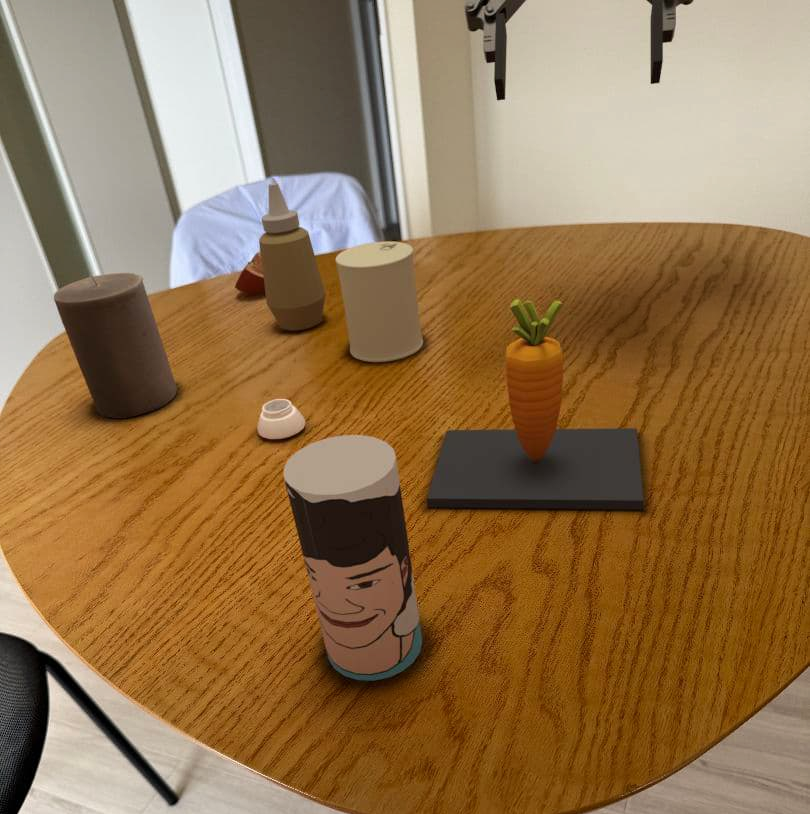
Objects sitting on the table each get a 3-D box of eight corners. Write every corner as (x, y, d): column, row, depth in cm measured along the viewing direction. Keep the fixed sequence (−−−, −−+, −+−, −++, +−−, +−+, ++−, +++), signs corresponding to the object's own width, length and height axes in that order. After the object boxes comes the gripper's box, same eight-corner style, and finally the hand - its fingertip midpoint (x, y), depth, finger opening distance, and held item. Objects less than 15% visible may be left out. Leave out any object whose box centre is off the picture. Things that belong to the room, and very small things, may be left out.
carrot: (570, 450, 71) (572, 287, 62) (554, 479, 67) (554, 310, 59) (518, 444, 73) (512, 285, 64) (500, 471, 69) (492, 307, 60)
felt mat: (636, 437, 73) (637, 427, 73) (643, 510, 64) (643, 500, 63) (447, 438, 77) (446, 429, 77) (427, 507, 68) (426, 498, 67)
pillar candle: (109, 427, 88) (59, 297, 79) (87, 400, 95) (38, 277, 86) (190, 398, 92) (150, 271, 83) (162, 374, 99) (123, 254, 90)
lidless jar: (256, 425, 84) (262, 446, 80) (250, 401, 83) (255, 421, 79) (301, 415, 85) (309, 435, 81) (296, 390, 83) (304, 410, 79)
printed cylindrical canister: (310, 643, 56) (263, 464, 47) (386, 600, 59) (355, 423, 50) (361, 696, 51) (320, 509, 42) (441, 647, 54) (418, 461, 45)
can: (437, 337, 98) (428, 239, 91) (395, 367, 92) (382, 265, 85) (378, 328, 103) (365, 234, 96) (335, 356, 97) (318, 258, 90)
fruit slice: (246, 283, 125) (238, 252, 122) (287, 280, 124) (280, 248, 121) (231, 302, 118) (223, 269, 115) (274, 299, 117) (267, 265, 114)
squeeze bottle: (261, 327, 108) (228, 189, 98) (307, 308, 112) (281, 173, 101) (294, 340, 103) (263, 195, 92) (342, 319, 107) (318, 179, 96)
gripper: (715, -112, 73) (718, 95, 70) (451, -71, 78) (444, 123, 76) (730, -196, 66) (734, 31, 63) (439, -145, 71) (430, 67, 68)
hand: (576, 81), depth 69 cm, fingers open, 13 cm apart
